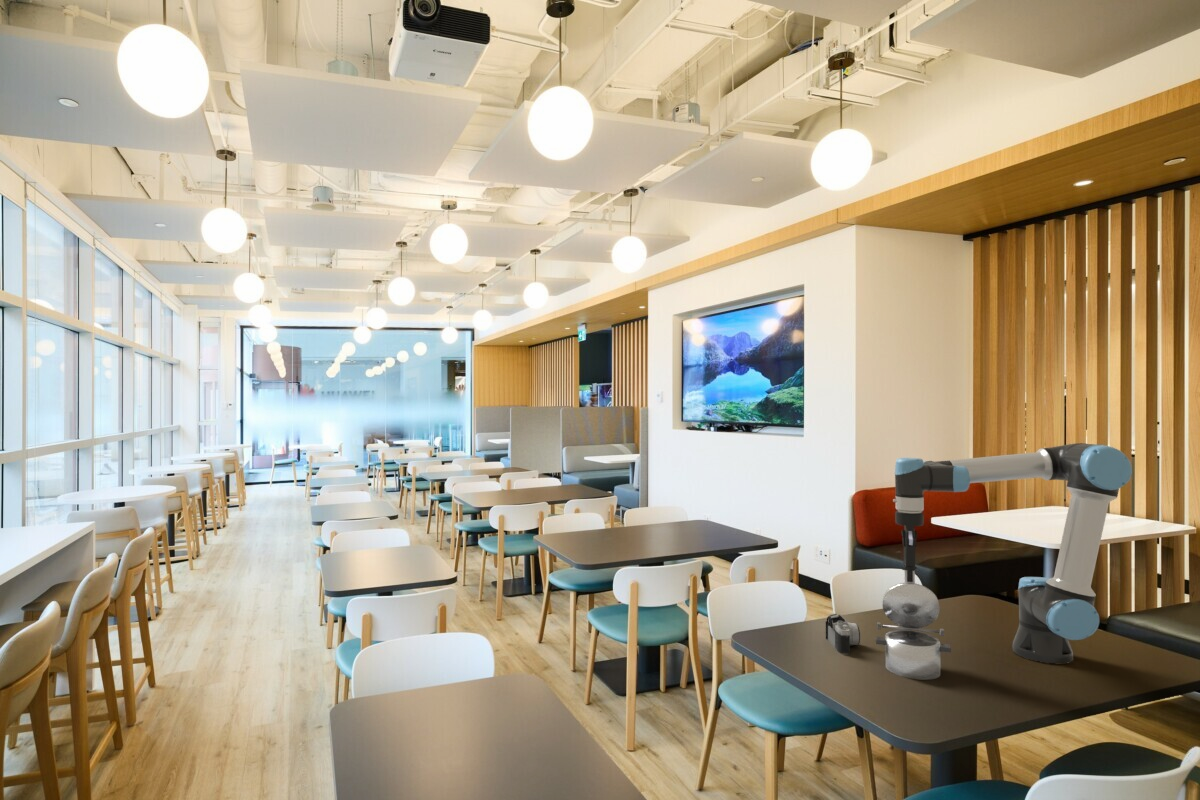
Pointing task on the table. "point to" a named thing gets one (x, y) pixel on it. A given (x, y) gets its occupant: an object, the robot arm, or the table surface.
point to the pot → (912, 653)
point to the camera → (842, 633)
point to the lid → (910, 607)
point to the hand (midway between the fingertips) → (909, 592)
